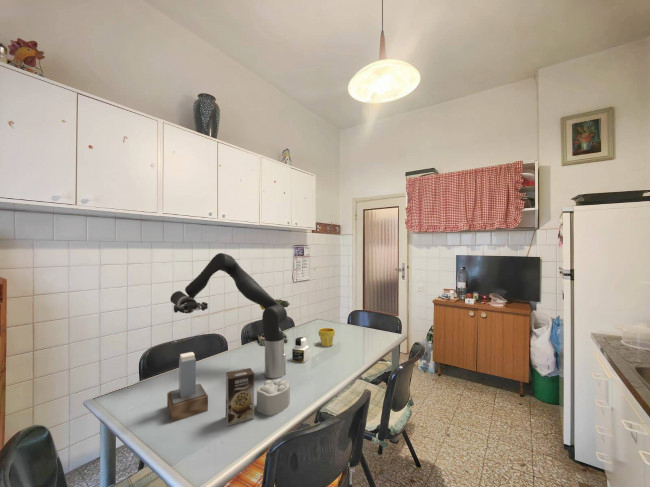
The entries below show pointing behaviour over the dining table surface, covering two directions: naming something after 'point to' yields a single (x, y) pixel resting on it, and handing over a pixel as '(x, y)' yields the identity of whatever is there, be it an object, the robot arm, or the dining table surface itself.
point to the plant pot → (326, 336)
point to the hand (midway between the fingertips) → (193, 309)
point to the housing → (187, 374)
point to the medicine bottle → (300, 350)
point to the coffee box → (239, 396)
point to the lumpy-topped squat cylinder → (273, 397)
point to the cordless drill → (260, 336)
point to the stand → (186, 403)
